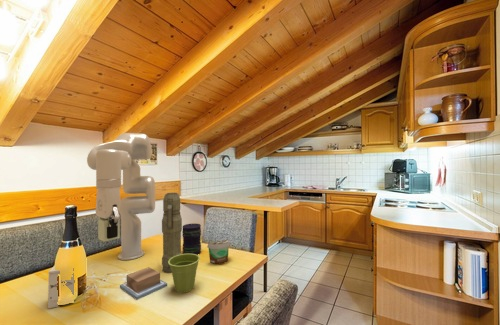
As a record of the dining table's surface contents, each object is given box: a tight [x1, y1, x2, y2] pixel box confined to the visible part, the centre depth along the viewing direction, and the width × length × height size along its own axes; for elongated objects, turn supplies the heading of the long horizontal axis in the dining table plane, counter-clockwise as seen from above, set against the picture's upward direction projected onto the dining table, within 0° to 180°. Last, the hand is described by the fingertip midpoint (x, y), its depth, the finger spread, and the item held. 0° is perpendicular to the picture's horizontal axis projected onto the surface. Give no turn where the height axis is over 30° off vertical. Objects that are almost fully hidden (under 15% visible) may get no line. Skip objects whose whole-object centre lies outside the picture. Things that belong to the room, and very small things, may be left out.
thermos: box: [161, 192, 183, 274], centre depth 107 cm, size 9×12×35 cm
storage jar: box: [181, 223, 202, 256], centre depth 126 cm, size 10×10×15 cm
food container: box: [206, 237, 231, 266], centre depth 113 cm, size 12×6×10 cm, turn 131°
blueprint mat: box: [119, 279, 168, 301], centre depth 91 cm, size 14×12×1 cm
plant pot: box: [168, 253, 201, 294], centre depth 89 cm, size 12×12×11 cm
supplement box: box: [47, 264, 75, 309], centre depth 82 cm, size 7×7×13 cm
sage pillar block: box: [97, 215, 121, 242], centre depth 81 cm, size 5×5×7 cm
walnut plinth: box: [126, 266, 161, 293], centre depth 91 cm, size 9×9×4 cm
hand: (109, 235), depth 81 cm, fingers closed on sage pillar block, 5 cm apart
